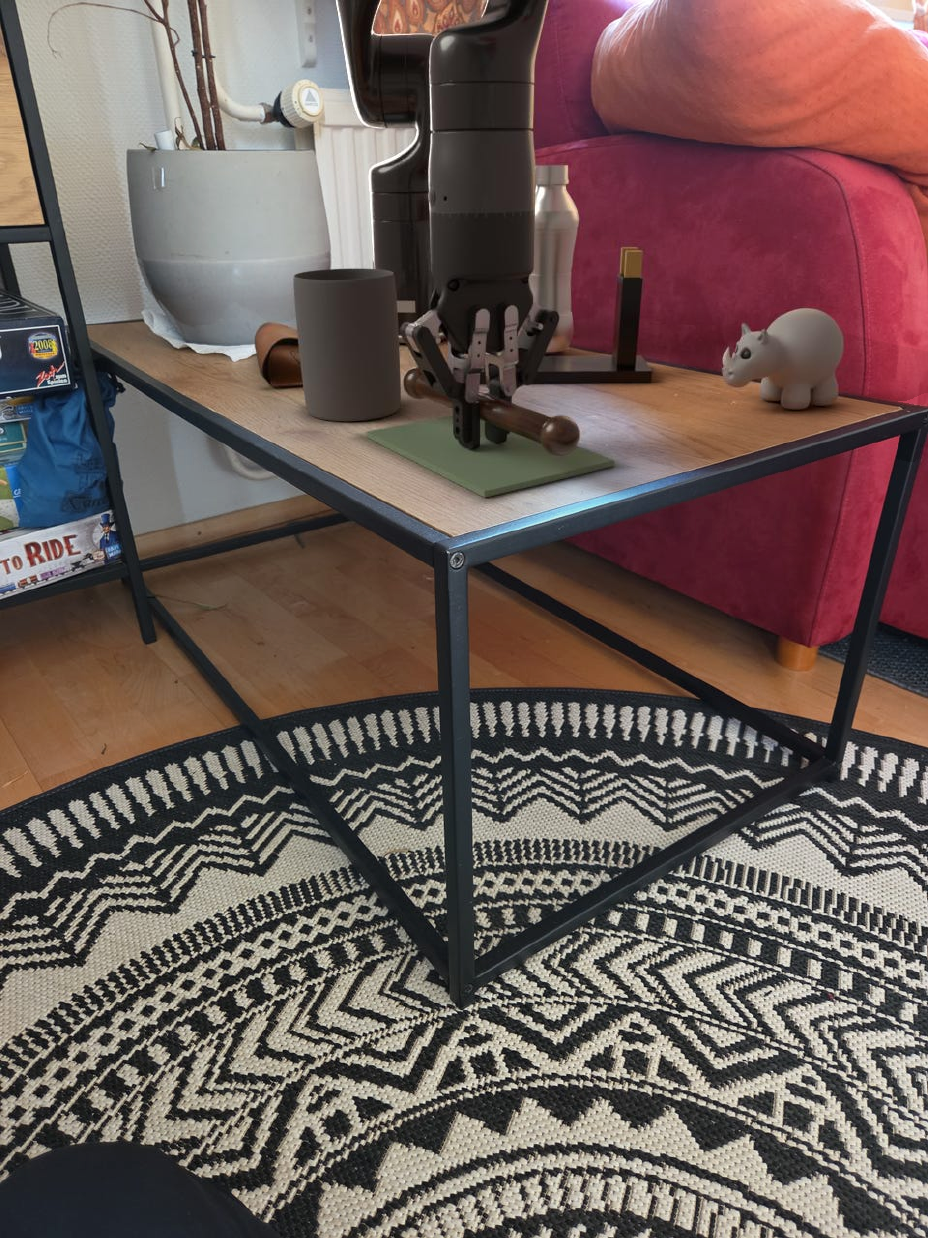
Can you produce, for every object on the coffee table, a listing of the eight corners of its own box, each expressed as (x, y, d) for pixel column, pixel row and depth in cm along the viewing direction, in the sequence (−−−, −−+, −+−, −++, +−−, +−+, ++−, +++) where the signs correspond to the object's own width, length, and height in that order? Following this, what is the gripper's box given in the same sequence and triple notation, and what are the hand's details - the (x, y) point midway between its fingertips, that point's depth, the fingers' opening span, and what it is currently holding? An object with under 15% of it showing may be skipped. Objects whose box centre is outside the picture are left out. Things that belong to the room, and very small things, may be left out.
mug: (410, 417, 78) (404, 277, 72) (310, 426, 76) (295, 282, 70) (385, 384, 90) (378, 261, 84) (297, 391, 88) (284, 265, 82)
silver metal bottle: (508, 350, 105) (510, 165, 95) (557, 345, 107) (564, 164, 97) (532, 360, 99) (537, 165, 90) (583, 355, 102) (593, 164, 92)
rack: (471, 366, 97) (470, 247, 91) (640, 366, 96) (650, 245, 90) (469, 383, 90) (468, 254, 84) (651, 382, 89) (663, 252, 83)
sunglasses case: (344, 377, 90) (306, 322, 87) (291, 416, 91) (250, 363, 87) (324, 346, 106) (291, 298, 102) (278, 379, 106) (243, 333, 102)
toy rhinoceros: (694, 402, 82) (704, 308, 78) (800, 391, 85) (815, 300, 81) (737, 421, 76) (751, 321, 72) (849, 408, 79) (869, 311, 75)
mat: (366, 437, 73) (365, 431, 73) (482, 415, 79) (482, 409, 78) (484, 498, 60) (484, 491, 59) (614, 466, 65) (614, 460, 65)
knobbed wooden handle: (556, 463, 59) (557, 424, 58) (398, 398, 76) (396, 366, 74) (587, 456, 60) (589, 416, 59) (425, 393, 77) (424, 361, 76)
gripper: (425, 211, 54) (433, 472, 63) (591, 203, 61) (579, 440, 69) (370, 207, 60) (385, 447, 68) (528, 199, 67) (524, 419, 75)
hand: (482, 442), depth 69 cm, fingers closed on knobbed wooden handle, 2 cm apart
